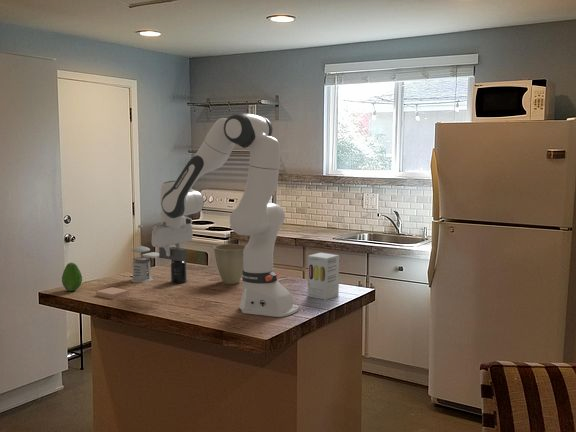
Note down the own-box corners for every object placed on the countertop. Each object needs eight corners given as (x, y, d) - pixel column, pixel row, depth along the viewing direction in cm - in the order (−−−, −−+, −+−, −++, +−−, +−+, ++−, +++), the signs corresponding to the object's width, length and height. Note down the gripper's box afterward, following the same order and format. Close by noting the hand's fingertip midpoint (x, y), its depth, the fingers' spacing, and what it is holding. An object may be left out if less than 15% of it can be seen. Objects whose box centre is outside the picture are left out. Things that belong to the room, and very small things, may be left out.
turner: (188, 259, 238) (188, 248, 238) (178, 261, 233) (178, 250, 233) (153, 253, 249) (152, 243, 248) (142, 256, 244) (142, 245, 243)
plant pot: (208, 284, 258) (208, 248, 256) (222, 277, 272) (222, 243, 270) (240, 287, 253) (240, 250, 251) (253, 279, 267) (252, 245, 265)
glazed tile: (128, 290, 240) (111, 287, 246) (112, 294, 233) (95, 291, 239) (128, 295, 240) (111, 292, 246) (112, 300, 234) (96, 296, 239)
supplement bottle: (189, 281, 264) (189, 254, 263) (179, 284, 258) (178, 257, 257) (178, 279, 268) (177, 253, 266) (167, 282, 262) (167, 255, 261)
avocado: (66, 294, 241) (65, 265, 240) (59, 290, 247) (58, 262, 246) (85, 290, 247) (84, 262, 245) (78, 287, 253) (77, 259, 251)
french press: (143, 276, 274) (141, 222, 271) (160, 279, 267) (159, 224, 264) (126, 280, 266) (124, 225, 263) (143, 283, 259) (141, 227, 256)
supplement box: (306, 296, 238) (307, 255, 236) (319, 292, 245) (320, 251, 243) (326, 300, 232) (327, 258, 230) (339, 295, 239) (339, 254, 237)
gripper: (159, 224, 227) (159, 260, 228) (195, 219, 244) (195, 252, 245) (147, 223, 230) (148, 258, 232) (183, 217, 247) (184, 250, 249)
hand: (172, 255), depth 239 cm, fingers closed on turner, 3 cm apart
